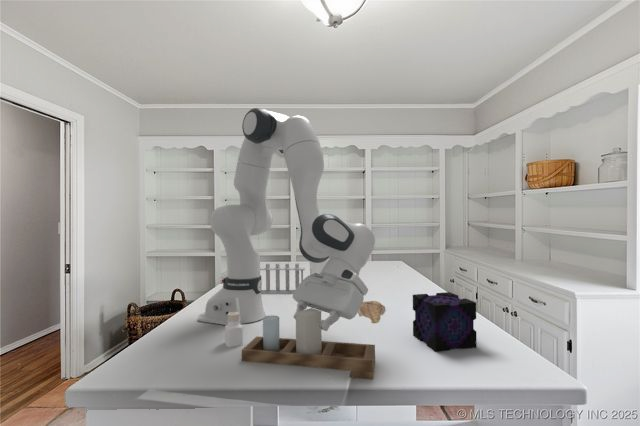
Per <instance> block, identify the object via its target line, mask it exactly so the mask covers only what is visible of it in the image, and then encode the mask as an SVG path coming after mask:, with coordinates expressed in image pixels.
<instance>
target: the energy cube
mask: <svg viewBox="0 0 640 426" xmlns="http://www.w3.org/2000/svg"><path fill="white" fill-rule="evenodd" d="M412 310H413V311H414V313H415V315H414V317H415V318H414V320H412V336H413V337H414V338H416V339H417V340H419V341H420V342H425V343H426V346H427V347H428V348H429V349H431V350H432V352H435V353H437V352H446V351H447V352H448V351H451V349H453V348H459V349H461V350H466V349H467V350H468V349H474V348H475V349H476V348H477V330H475V329H474V321H475V320H477V302H476V301H473V300H471V299H468V298H467V297H466V298H460V297H459V295H457V294H455V293H453V292H450V291H449V292H448V291H447V292H437V293H436V294H432V295H429V294H427V293H417V294H412Z"/></svg>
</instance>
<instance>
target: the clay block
mask: <svg viewBox="0 0 640 426" xmlns="http://www.w3.org/2000/svg"><path fill="white" fill-rule="evenodd" d="M295 313H296V320H295V339H296V353H301V354H314V355H322V341H323V340H322V329H321V328H320V327H319V324H320V323H321V321H322V311H320V310H317V309H314V308H311V307H309V308H306V309H304V310H303V311H299V312H296V311H295Z"/></svg>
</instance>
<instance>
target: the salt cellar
mask: <svg viewBox="0 0 640 426" xmlns="http://www.w3.org/2000/svg"><path fill="white" fill-rule="evenodd" d="M280 334H281V333H280V316H278V315H272V314H271V315H265V317H263V319H262V337H263V350H264V351H276V352H280V338H281V337H280Z"/></svg>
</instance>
